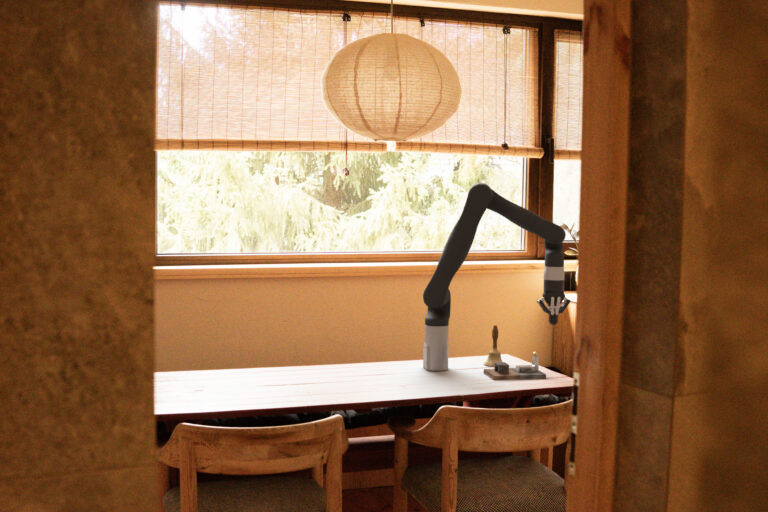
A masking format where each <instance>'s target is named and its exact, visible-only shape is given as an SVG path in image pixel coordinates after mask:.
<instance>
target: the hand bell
mask: <svg viewBox="0 0 768 512" xmlns="http://www.w3.org/2000/svg"><path fill="white" fill-rule="evenodd" d="M498 328H499V327H498V325H497V324H495V325H493V328H492V331H491V338H492V349H490V351H489V352H488V357H487V359H486V361H485V362H484V363H483V366H486V367H493V368H495V363H499V362H503V360H502V356H501V351H499V350H498V339H499V329H498Z"/></svg>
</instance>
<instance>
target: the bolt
mask: <svg viewBox="0 0 768 512" xmlns="http://www.w3.org/2000/svg"><path fill="white" fill-rule="evenodd" d="M539 360H540V357H539V353H538V352H537V351H534V352H533V353H532V359H531V364H518V365H515V368H516V371H518V372H521V368H532V371H540V370H539V368H540V367H539V364H540V363H539Z"/></svg>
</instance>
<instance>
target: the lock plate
mask: <svg viewBox="0 0 768 512" xmlns="http://www.w3.org/2000/svg"><path fill="white" fill-rule="evenodd" d="M483 374H484V375H486V376H487V377H489V378H490V379H491V380H493V381H504V380H505V381H507V380H508V381H510V380H512V381H513V380H514V381H515V380H535V379H541V380H542V379H547V374H546V373H544V372H542V371H541V370H539V371H532V368H521V372H518V371H516V367H512V368H511V367H510V364H508V363H506V362H505V361H504V362H503V361H502V362H499V363H495V367H494V368H484V369H483Z"/></svg>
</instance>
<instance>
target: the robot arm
mask: <svg viewBox="0 0 768 512" xmlns="http://www.w3.org/2000/svg"><path fill="white" fill-rule="evenodd" d="M465 200H466V201H465V203H464V206H463V209H462V212H461V213H460V214H461V215H460V216H459V218H458V220H457V222H456V223H455V225H454V227H453V228H452V229H451V232H450V233H449V236H448V238H447V241H446V242H445V245H444V247H443V249H442V253H441V255H440V258H439V260H438V263H437V265H436V268H435V271H434V273H433V274H432V276H431V278H430V280H429V281H428V283H427V284H426V287H425V288H424V291H423V292H422V300H423V302H424V304H425V306H426V307H427V311H426V315H425V318H424V343H423V344H422V345H423V349H422V350H423V352H422V356H423V357H422V360H423V361H422V368H423V369H424V370H425V371H431V372H432V371H435V372H436V371H437V372H440V371H447V370H449V332H450V330H449V329H450V328H449V327H450V326H449V325H450V317H451V304H452V300H451V299H452V296H451V295H452V294H451V291H450V284H452V283H451V282H452V280H453V278H454V277H455V275H456V274H457V272H458V271H459V270H460V269H461V267H462V265H463V264H464V262H465V260H466V259H467V257H468V254H469V252H470V250H471V247H472V245H473V243H474V240H475V237H476V233H477V230H478V227H479V225H480V221H481V220H482V217H483V216H484V213H485V212H486V211H487V210H489V211H492V212H493V213H497V214H498V215H500V216H502V217H504V218H505V219H506V220H508V221H509V222H511V223H513V224H515V225H516V226H518V227H520V228H521V229H523V230H525V231H526V232H528V233H531V234H534V235H537V236H538V237H539V238H541V239H543V240H544V241H543V242H544V243H543V244H544V250H545V251H544V254H545V255H544V270H543V293H542V295H541V296H542V297H541V298H539V299H537V300H536V303H537V304H538V305H539V307H540V308H541V310H542V311H543V312H544V313H546V314H548V323H549V325H551V326H555V325H557V324H558V321H559V319H558V317H559V314H563V313H564V311H565V310H566V308H568V306H569V304H570V303H571V300H570V299H568V298H567V297H566V295H565V256H564V255H565V254H564V251H563V243H564V241H565V239H566V236H567V235H566V230H565V229H564V228H563V227H562V226H560V225H558V224H556V223H554V222H552V221H550V220H548V219H545V218H543V217H541V216H540V215H538V214H536V213H535V212H533V211H532V210H529V209H527V208H525V207H523V206H521V205H518V204H516V203H514V202H512V201H511V200H509V199H506V198H505V197H503V196H501V195H500V194H499V193H497V192H496V191H495V190H493V189H492V188H491V186H489V185H488V184H486V183H484V182H477V183H475V184H473V185H472V186H471V187H470V188H469V190H468V192H467V196H466V199H465ZM545 303H546V304H547V306H546V304H545Z"/></svg>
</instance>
